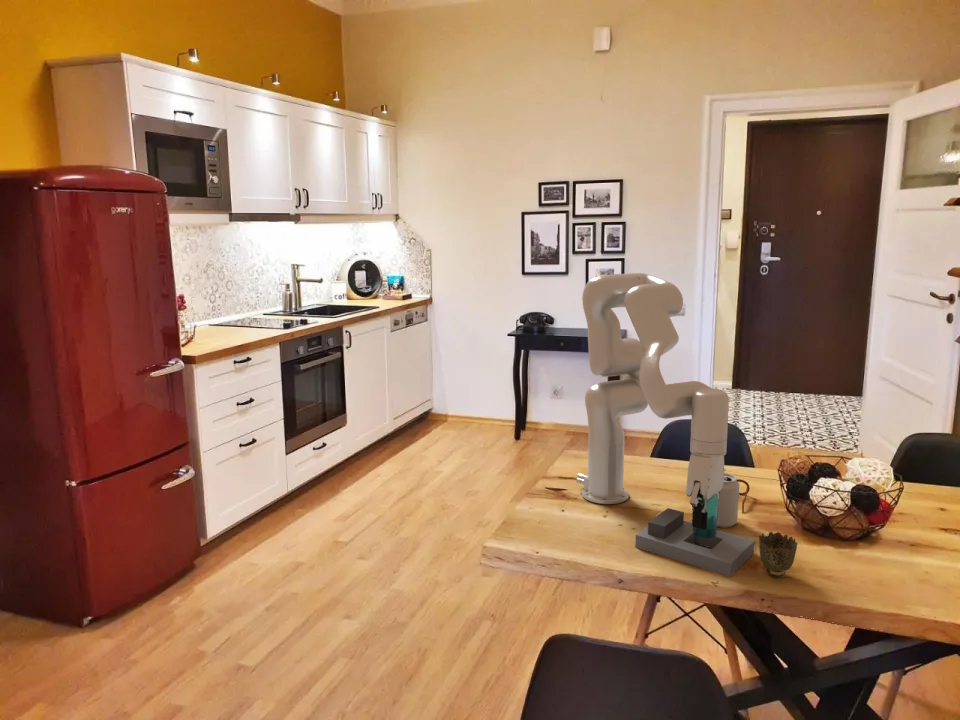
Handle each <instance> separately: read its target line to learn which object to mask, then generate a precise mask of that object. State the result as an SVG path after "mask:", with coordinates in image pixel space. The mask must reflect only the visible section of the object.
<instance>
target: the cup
mask: <svg viewBox="0 0 960 720" xmlns="http://www.w3.org/2000/svg"><path fill="white" fill-rule="evenodd" d="M758 540H759V541H758V544H759V545H758V546H759V556H760V561H761V562H762V563H761V564H763V566H764V567H765V568H766V569H765V570H766V573H767V575H768V576H770V577H773V578H783V577H784V576H785V574H786V571H788V570H789V569H790V568H791V567H792V566H793V564H794V561H795V558H796V553H797V548H798V541H796V538H793V536H790V537H789V536H788V534H784V535H782V533H781V532H779V531H777V532H775V533H773V531H769V532H768V535H765V534H764V533H761V535H759V536H758Z"/></svg>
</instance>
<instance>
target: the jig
mask: <svg viewBox="0 0 960 720" xmlns="http://www.w3.org/2000/svg"><path fill="white" fill-rule="evenodd" d="M684 517H685V513H684V511H680V510H677V509H673V508H669V507H668V508H666V509H664V510H663V511H662V512H660V513H659V514H657V515H656V516H655V517H653V518H652V519H651V520H649V521H648V523H647V524H648V525H647V526H646V527H645V528H643V529H641V530H640V531H639V532H637V533H636V534H635V546H634V547H635V548H638V549H641V550H644V551H647V552H650V553H654V554H655V555H656V554H657V555H660V556H663V557H666V558H669V559H673V560H674V561H675V560H676V561H679V562H681V563H685V564H687V565H691V566H695V567H698V568H701V569H704V570H707V571H710V572H713V573H716V574H719V575H723V576H725V577H728V578H730V577H732V576H733V575H734V573H736V572H737V570H739V569H740V568H741V566H743V565H744V563H746V561H747V560H748V559H749V558H750V557H751V556H753V555H754V554H755V545H756V544H755V543H756V541H755V540H756V539H755V540H754V539H751V538H748V537H744V536H742V535H741V536H740V535H736V534H733V533H729V532H727V531H722V530H719V529H717V531H716V536H715V537H712V538H703V537H699V536H696V535H695V534H694V533H693V526H692V522H690V521H687V520H684Z"/></svg>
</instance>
